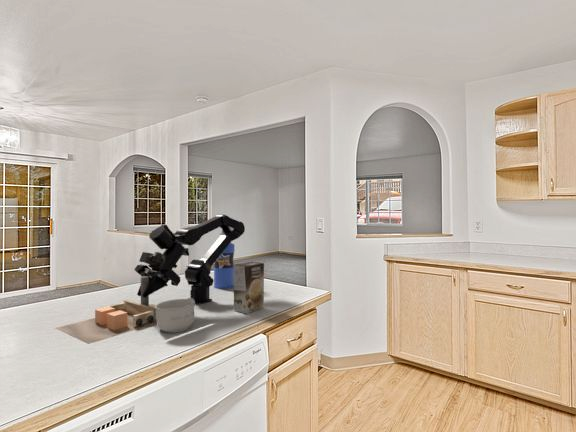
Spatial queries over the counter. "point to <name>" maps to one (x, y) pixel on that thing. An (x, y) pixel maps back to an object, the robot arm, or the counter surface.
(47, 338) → the counter surface
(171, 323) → the teacup
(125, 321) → the block
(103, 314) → the block
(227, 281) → the water bottle
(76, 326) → the board
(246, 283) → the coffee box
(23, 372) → the counter surface
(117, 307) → the wooden pusher with handle
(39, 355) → the counter surface
